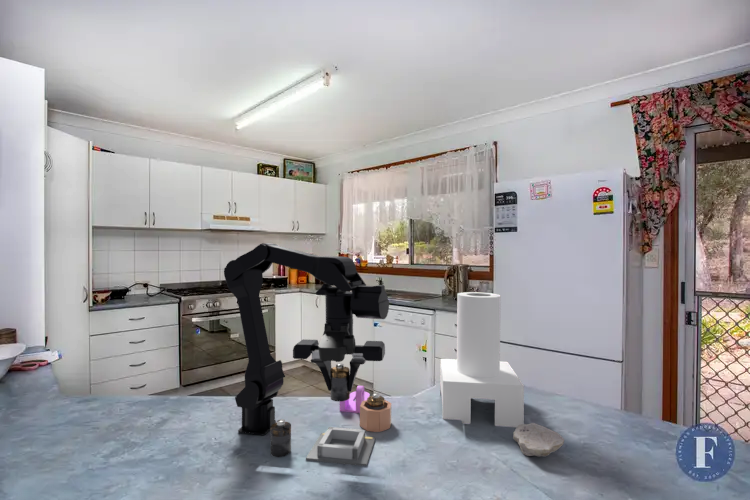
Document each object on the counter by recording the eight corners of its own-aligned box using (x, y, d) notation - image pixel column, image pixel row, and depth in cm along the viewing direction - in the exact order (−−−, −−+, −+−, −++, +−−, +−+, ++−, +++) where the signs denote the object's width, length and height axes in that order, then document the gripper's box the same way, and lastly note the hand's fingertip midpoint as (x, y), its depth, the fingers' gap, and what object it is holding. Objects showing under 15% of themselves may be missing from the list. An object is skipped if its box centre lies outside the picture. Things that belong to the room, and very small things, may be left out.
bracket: (361, 416, 95) (361, 389, 95) (339, 414, 96) (339, 387, 96) (371, 396, 108) (371, 372, 107) (352, 395, 109) (352, 370, 109)
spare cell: (267, 460, 75) (267, 424, 75) (275, 449, 79) (275, 415, 79) (286, 462, 74) (286, 426, 74) (293, 451, 78) (294, 417, 78)
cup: (357, 433, 86) (358, 409, 86) (363, 419, 93) (363, 397, 93) (388, 436, 85) (388, 412, 85) (392, 422, 92) (392, 399, 92)
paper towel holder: (440, 392, 111) (441, 289, 110) (507, 396, 108) (508, 291, 108) (442, 422, 92) (443, 298, 92) (523, 427, 89) (524, 300, 89)
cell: (328, 401, 78) (328, 367, 78) (333, 393, 82) (332, 361, 82) (347, 401, 78) (347, 367, 78) (351, 394, 82) (351, 362, 82)
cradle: (305, 464, 74) (305, 447, 74) (321, 438, 84) (321, 423, 84) (366, 470, 72) (366, 453, 72) (375, 443, 82) (375, 428, 82)
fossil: (531, 453, 73) (507, 412, 82) (526, 476, 76) (504, 434, 85) (573, 447, 74) (545, 407, 83) (567, 469, 77) (540, 428, 86)
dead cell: (365, 427, 87) (365, 397, 87) (368, 419, 91) (369, 390, 91) (382, 429, 86) (383, 398, 86) (385, 421, 90) (385, 391, 90)
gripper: (282, 323, 73) (283, 404, 73) (378, 324, 71) (379, 408, 71) (301, 313, 84) (302, 383, 84) (384, 314, 82) (385, 386, 82)
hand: (340, 390), depth 80 cm, fingers closed on cell, 4 cm apart
